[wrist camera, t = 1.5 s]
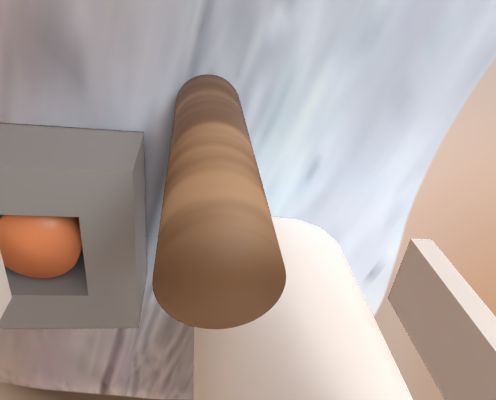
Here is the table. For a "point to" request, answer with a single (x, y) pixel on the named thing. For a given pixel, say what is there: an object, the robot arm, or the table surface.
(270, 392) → the can
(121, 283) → the box
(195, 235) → the dowel
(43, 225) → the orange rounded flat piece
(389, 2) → the table surface
